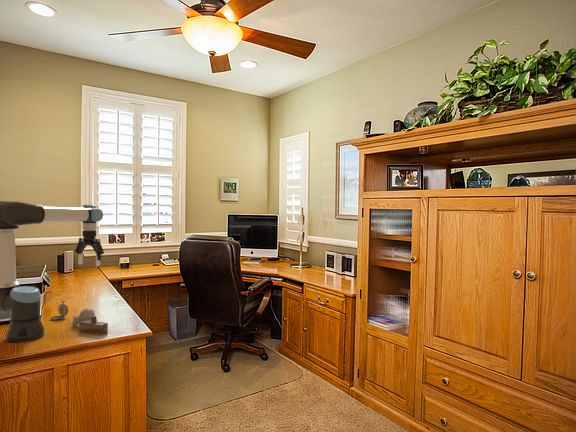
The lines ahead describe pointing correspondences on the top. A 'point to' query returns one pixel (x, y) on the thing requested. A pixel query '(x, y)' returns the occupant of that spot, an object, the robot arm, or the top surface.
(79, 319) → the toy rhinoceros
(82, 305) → the top surface
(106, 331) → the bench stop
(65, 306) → the pocket watch
